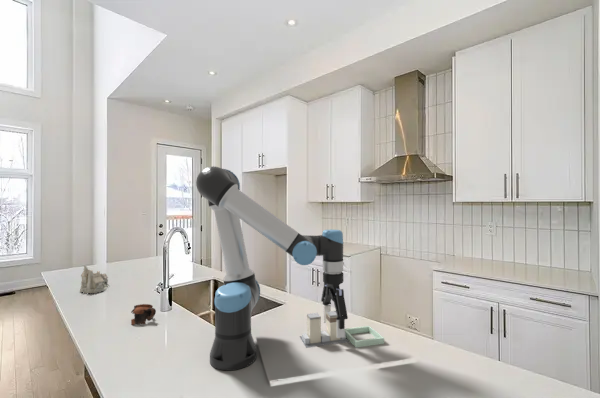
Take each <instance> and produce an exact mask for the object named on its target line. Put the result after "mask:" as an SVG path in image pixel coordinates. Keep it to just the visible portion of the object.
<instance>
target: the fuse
mask: <svg viewBox="0 0 600 398" xmlns="http://www.w3.org/2000/svg"><path fill="white" fill-rule="evenodd" d="M321 324H322V317H321V315H320V314H319V313H318V312H312V313H311V312H310V313H306V334H307V335H308V337H309V338H310V343H318V342H321V331H322V325H321Z"/></svg>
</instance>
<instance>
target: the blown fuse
mask: <svg viewBox="0 0 600 398" xmlns="http://www.w3.org/2000/svg"><path fill="white" fill-rule="evenodd" d="M336 318H337V313H336V310H331V311H329V312H326V323H325V324H326V330H325V331H326V332H327V333H328V334H329V335H330V341H333V340H340V339H341V338H337V320H336Z"/></svg>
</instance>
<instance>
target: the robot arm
mask: <svg viewBox="0 0 600 398" xmlns="http://www.w3.org/2000/svg"><path fill="white" fill-rule="evenodd" d="M240 184H241V183H240V180H239V178H238V176H237V175H236V174H235V173H234V172H233V171H231V170H229V169H226V168H222V167H218V166H215V165H213V166H207V167H205V168H203V169H202V170H201V171H200V172H199V173H198V175H197V177H196V180H195V186H196V189H197V191H198V193H199V194H200V195H201V196H202V197H203V198H204V199H206V200H207V203H208V208H209V209H211V210H212V211H214V212H213V213H214V217H215V221H216V226H217V227H216V228H217V231H218V237H219V241H220V242H219V244H220V248H221V253H222V257H223V262H224V268H225V272H226V274H225V276H224V277H223V285H221V286H219V287H218V288H217V290H215V293H214V294H215V296H214V328H215V329H214V334H215V335H214V339H213V342H212V346H211V349H210V351H209V363H210V365H211V366H212V368H214V369H218V370H222V371H235V370H240V369H243V368H246V367H248V366H250V365H251V364H253V363H254V362H255V361H256V360H257V346H256V343H255V340H254V338H253V334H252V311H253V310H254V308H255V307H256V305H257V303H258V301H259V299H260V298H261V287H260V283H259V282H258V280H257V279H256V275H255V274H256V273H255V271H254V270H252V269H251V268H250V265H249V260H248V254H247V251H246V245H245V239H244V234H243V230H242V224H241V221H242V222H244V223H245V224H247V225H248V226H249V227H251V228H252V229H253V230H255V231H256V232H258V233H260V234H261V235H262V236H263V237H264V238H265V239H267V240H269V241H271V242H272V243H273V244H274V245H276V246H278V247H279V248H280V249H281V250H282V251H285V253H287V254H288V255H290V257H292V259H293V260H294V262H296V263H297V264H298V265H300V266H309V265H311V264H312V263H314V261H315V259H316V257H320V256H321V257H322V271H323V273H322V282H323V287H322V288H323V289H322V294H321V300H320V301H321V302H322V305H323V323H324V324H326V312H329V311H332V310H331V309H332V306H331V305H332V302H333V305H334V308H335V311H336V313H337V318H336V320H337V338H342V337H345V329H346V327H345V325H346V324H345V321H346V320H348V319H349V316H348V312H347V305H346V301H345V293H344V292H345V291H344V288H342V289H341V288H340V287H341V286H340V285H341V284H343V283H344V272H343V271H344V265H345V262H344V235H343V233H344V232H343V231H342V230H340V229H324V230H323V231H322V234H319V235H304V234H301V233H299V232H298V231H297V230H295V229H294V228H292V227H291V226H290V225H288V223H285V221H282V219H281V218H279V217H277V216H276V215H275V214H273V213H272V212H271V211H269V210H267V209H266V208H265V207H264V206H263V205H261V204H259V203H258V202H256V201H255V200H254V199H252V198H251V197H249V196H248V195H247V194H245V193H244V192H243V191H242V190H240V189H241V185H240Z"/></svg>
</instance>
